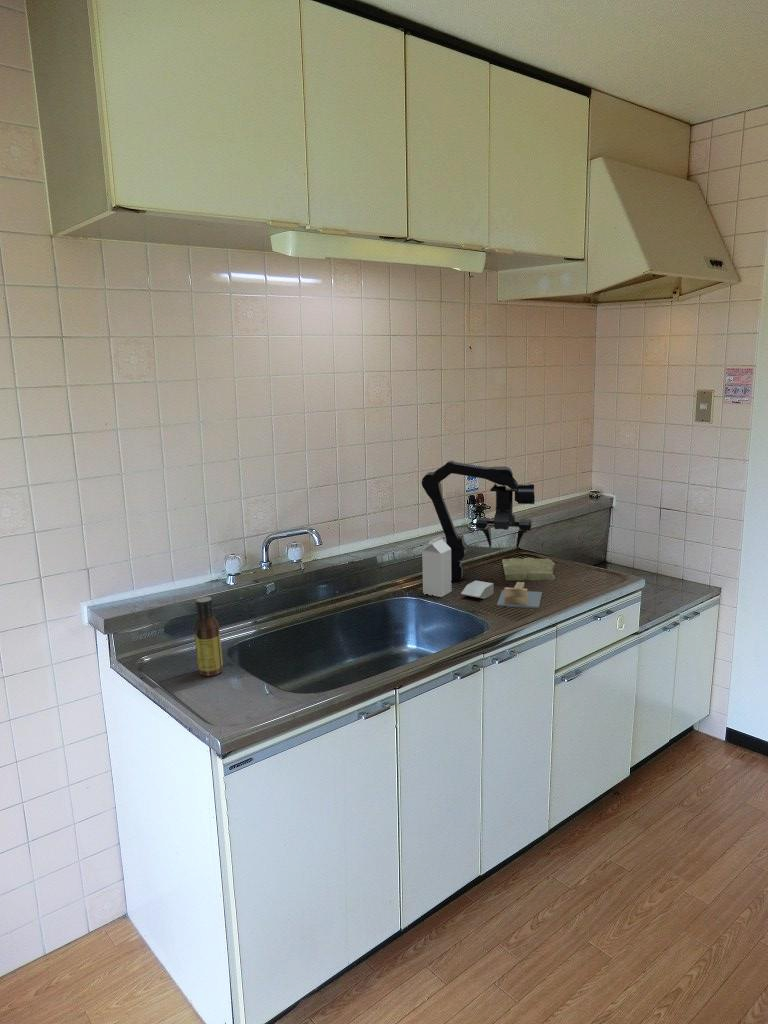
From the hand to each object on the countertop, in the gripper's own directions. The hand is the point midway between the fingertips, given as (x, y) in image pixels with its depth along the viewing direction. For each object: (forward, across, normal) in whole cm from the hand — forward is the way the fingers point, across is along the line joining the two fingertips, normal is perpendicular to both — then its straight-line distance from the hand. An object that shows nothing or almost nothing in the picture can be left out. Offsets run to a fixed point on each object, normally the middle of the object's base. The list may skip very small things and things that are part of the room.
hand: (503, 547), depth 254 cm
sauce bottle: (+12, -62, -93) cm, 113 cm away
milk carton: (+12, -20, -18) cm, 29 cm away
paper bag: (+10, -5, -14) cm, 18 cm away
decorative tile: (+13, +8, +12) cm, 19 cm away
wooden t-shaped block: (+11, +7, -20) cm, 24 cm away
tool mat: (+12, +8, -20) cm, 24 cm away
